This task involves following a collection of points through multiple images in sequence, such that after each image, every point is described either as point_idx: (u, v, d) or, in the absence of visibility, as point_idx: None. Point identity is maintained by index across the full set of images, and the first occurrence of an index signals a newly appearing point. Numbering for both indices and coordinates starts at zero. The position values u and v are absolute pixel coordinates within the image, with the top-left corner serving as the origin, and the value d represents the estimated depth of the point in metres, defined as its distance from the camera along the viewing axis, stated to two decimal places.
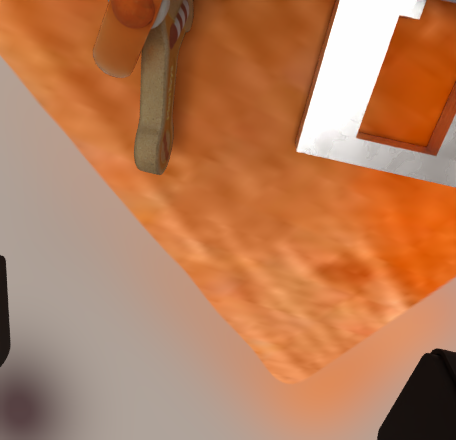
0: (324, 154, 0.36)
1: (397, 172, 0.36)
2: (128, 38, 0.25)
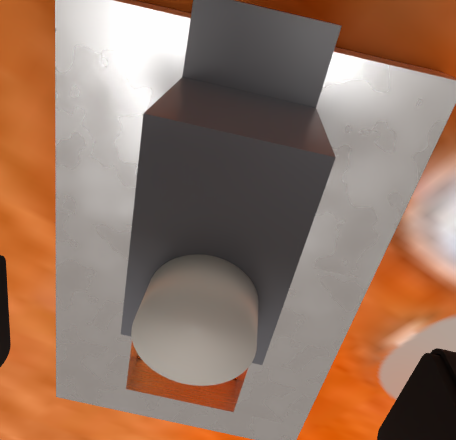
0: (92, 401, 0.27)
1: (189, 423, 0.27)
2: None
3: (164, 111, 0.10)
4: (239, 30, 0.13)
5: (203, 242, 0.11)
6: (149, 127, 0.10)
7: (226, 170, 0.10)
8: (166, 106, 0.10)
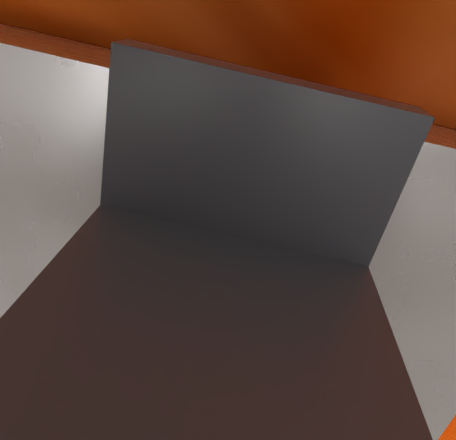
0: None
1: None
2: None
3: None
4: (211, 122, 0.06)
5: None
6: None
7: None
8: None
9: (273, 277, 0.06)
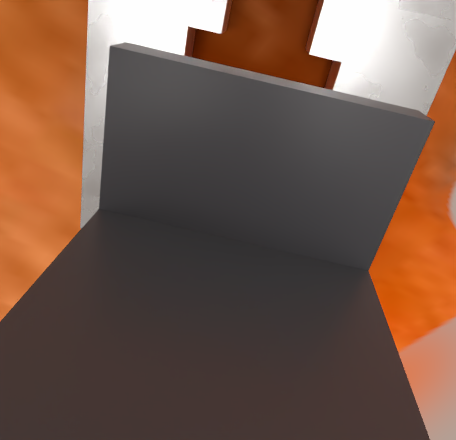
0: None
1: None
2: None
3: None
4: (210, 125, 0.06)
5: None
6: None
7: None
8: None
9: (272, 281, 0.06)
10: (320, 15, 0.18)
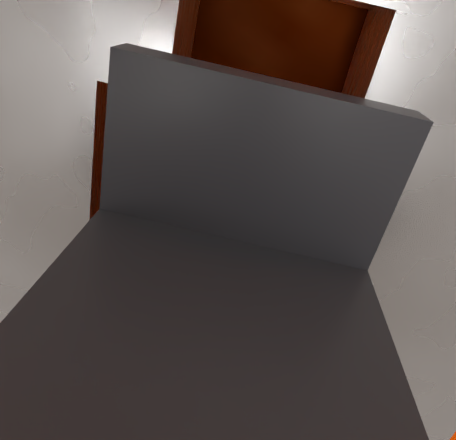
0: None
1: None
2: None
3: None
4: (210, 126, 0.06)
5: None
6: None
7: None
8: None
9: (272, 281, 0.06)
10: (378, 61, 0.08)
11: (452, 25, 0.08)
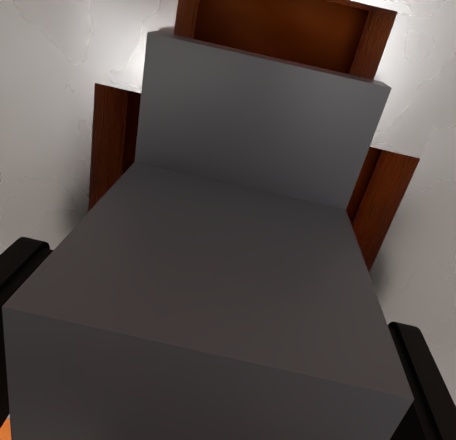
0: None
1: None
2: None
3: (58, 285, 0.05)
4: (222, 93, 0.08)
5: None
6: (18, 331, 0.05)
7: (183, 406, 0.05)
8: (71, 264, 0.05)
9: (270, 212, 0.08)
10: (379, 63, 0.08)
11: (455, 27, 0.07)
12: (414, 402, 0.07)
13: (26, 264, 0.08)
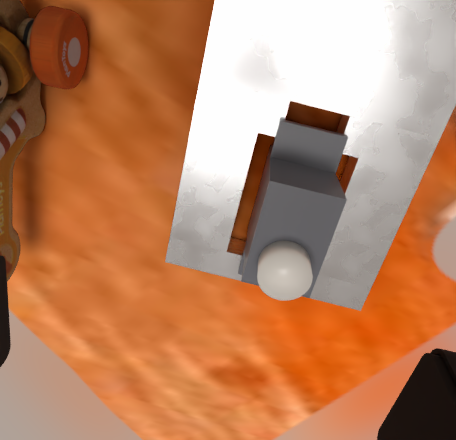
0: (195, 266, 0.33)
1: None
2: None
3: (275, 179, 0.24)
4: (300, 137, 0.27)
5: (287, 235, 0.25)
6: (271, 186, 0.23)
7: (301, 204, 0.24)
8: (275, 176, 0.24)
9: (313, 172, 0.27)
10: (345, 129, 0.27)
11: (366, 120, 0.27)
12: None
13: None
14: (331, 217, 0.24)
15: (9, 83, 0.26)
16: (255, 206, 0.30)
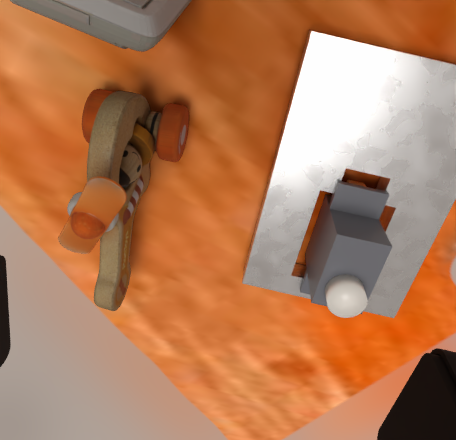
0: (266, 286, 0.42)
1: None
2: None
3: (340, 232, 0.33)
4: (353, 195, 0.36)
5: (348, 270, 0.34)
6: (338, 237, 0.33)
7: (359, 249, 0.33)
8: (339, 229, 0.33)
9: (363, 220, 0.36)
10: (386, 187, 0.36)
11: (402, 181, 0.36)
12: None
13: None
14: (380, 258, 0.33)
15: None
16: (314, 241, 0.40)
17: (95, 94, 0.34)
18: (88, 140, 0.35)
